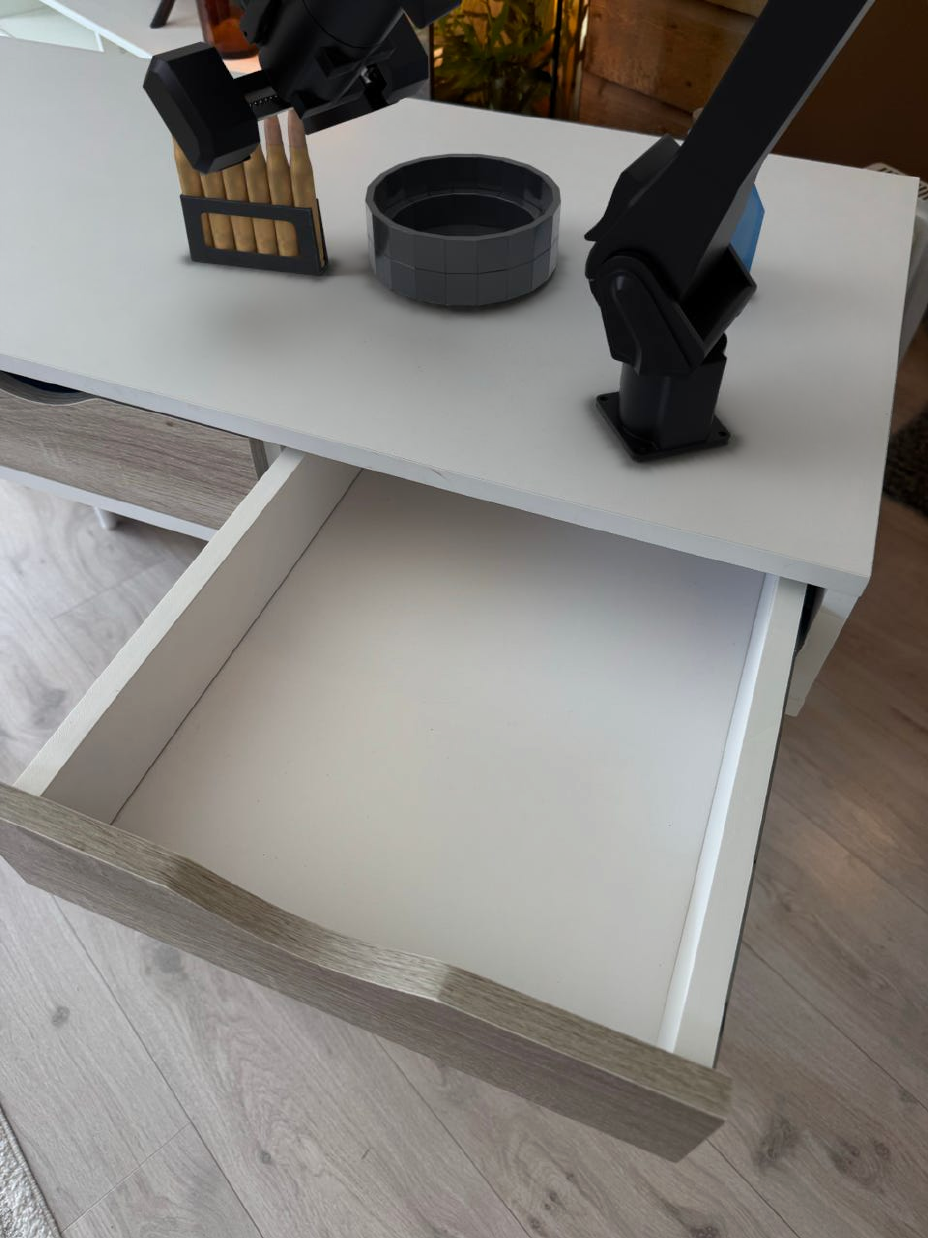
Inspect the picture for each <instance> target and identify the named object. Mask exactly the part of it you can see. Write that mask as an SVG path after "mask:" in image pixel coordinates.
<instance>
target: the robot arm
mask: <svg viewBox="0 0 928 1238" xmlns="http://www.w3.org/2000/svg"><path fill="white" fill-rule="evenodd" d="M875 1H876V0H767V1H766V3H765V5H764V7H762V8H763V9H762V10H761V12H760V13H759V15H758V17H757V18H756V20H755V21H754V23H753V25H752V26H751V28H750V29H749V32H748V33H747V35H746V37H745V38H744V39H743V42H742V43H741V45H740V47H739V49H738V50H737V52H736V53H735V55H734V57H733V59H732V60H731V61H730V63H729V65H728V67H727V69H726V70H725V72H724V74H723V75H722V77H721V79H720V80H719V82H718V84H717V85H716V87H715V89H714V90H713V92H712V93H711V95H710V97H709V99H708V100H707V102H706V103H705V105H704V106H703V108H704V109H703V110H702V112H701V114H700V115H699V117H698V119H697V120H696V122H695V124H694V125H693V124H692V127H691V128H690V129H691V130H690V129H689V130H690V132H689V134H688V133H687V135H686V137H685V139H684V140H683V142H682V144H681V145H680V144H679V143H678V142H677V141H676V140H675V138H673V137H672V135H671V134H670V133H668V132H667V133H665V134H663V135H662V136H661V137H660V138H659V139H658V140H657V141H655V143H653V144H652V145H651V146H649V148H648V149H646V150H645V151H644V152H643V153H641V155H639V156H638V157H637V158H636V159H635V160H634V161H632V163H630V164H629V165H628V166H627V167H626V168H625V169H624V170H622V171H621V172H620V174H619V176H618V178H617V180H616V182H615V184H614V186H613V189H612V191H611V194H610V197H609V200H608V203H607V206H606V209H605V211H604V212H603V215H602V217H601V218H600V220H599V221H597V222H596V223H595V224H594V225H593V226H592V227H591V228H590V229H588V230H587V231H586V232H585V233H584V235H583V239H584V240H585V241H586V242H594V244H593V245H592V246H591V248H590V250H589V252H588V254H587V257H586V261H585V264H584V278H585V279H586V280H587V281H588V285H589V289H590V293H591V295H592V297H593V298H594V300H595V302H596V304H597V305H598V308H599V309H600V313H601V318H602V322H603V326H604V327H603V328H604V331H605V336H606V341H607V345H608V350H609V353H610V357H611V359H612V360H614V361H616V362H619V363H622V366H621V372H620V379H619V390H617V391H612V392H608V393H607V392H606V393H602V394H599V395H597V396H596V399H595V405H596V407H597V409H598V410H599V411H600V413H601V416H603V418H604V419H605V421H606V422H607V423H608V425H609V426H610V428H611V429H612V431H613V433H614V435H616V438H617V439H618V440H619V442H620V443H621V445H622V446H623V448H624V449H625V450H626V452H627V453H628V455H629V457H630V458H631V459H632V460H634V461H637V462H643V461H648V460H653V459H658V458H663V457H669V456H673V455H678V454H682V453H688V452H693V451H697V450H702V449H703V450H704V449H708V448H712V447H717V446H724V445H726V444H728V443H729V442H730V440H731V433H730V431H729V430H728V429H727V427H726V426H725V425H724V423H722V421H721V420H720V419H719V418H718V416H717V415H716V413H715V411H716V408H717V404H718V399H719V395H720V392H721V387H722V384H723V383H722V382H723V379H724V374H725V369H726V367H727V362H728V357H727V356H726V355H725V354H726V350H727V346H728V336H727V335H726V331H727V330H728V328H729V327H730V326H731V324H733V322H734V321H735V319H736V318H738V317H739V316H740V315H741V313H742V311H744V309H745V307H746V306H747V305H748V304H749V302H750V300H751V299H752V297H753V296H754V295H755V294H756V292H757V289H758V284H757V283H756V281H755V280H754V278H753V277H752V275H751V272H750V273H749V272H748V270H747V269H746V267H745V265H744V264H743V262H742V261H741V259H740V257H739V256H738V254H737V253H736V251H735V249H734V248H733V246H732V245H731V243H730V240H731V238H732V236H733V234H734V232H735V230H736V228H737V226H738V224H739V221H740V219H741V217H742V215H743V213H744V211H745V208H746V205H747V203H748V200H749V197H750V194H751V191H752V188H753V185H754V184H755V182H756V179H757V176H758V174H759V171H760V169H761V168H762V166H763V164H764V161H765V160H766V159H767V158H768V156H769V155H770V154H771V152H772V151H773V149H774V147H775V146H776V144H777V143H778V141H779V140H780V138H781V137H782V136H783V134H784V133H785V131H786V130H787V129H788V127H789V125H790V124H791V123H792V121H793V120H794V119H795V117H796V115H797V114H798V112H799V111H800V110H801V108H802V107H803V105H804V104H805V102H806V101H807V100H808V98H809V96H810V95H811V94H812V92H813V91H814V89H815V88H816V86H817V85H818V83H819V82H820V81H821V79H822V78H823V77H824V75H825V74H826V72H827V71H828V69H829V68H830V66H831V65H832V63H833V62H834V60H835V59H836V57H838V54H839V53H840V52H841V50H842V49H843V47H844V46H845V44H846V43H847V41H848V40H849V39H850V38H851V36H852V35H853V33H854V32H855V30H856V29H857V28H858V26H859V25H860V23H861V22H862V21H863V18H864V17H865V16H866V14H867V13H868V11H869V10H870V8H871V7H872V5H873V4H874V3H875ZM231 2H232V3H234V5H235V6H236V7H237V8H238V9H239V10H240V11H242V12H243V14H242V16H241V19H240V21H239V23H238V25H237V27H238V29H239V31H240V32H241V34H242V36H243V38H244V39H245V41H246V43H247V44H248V45H249V46H253V45H255V46H256V47H257V49H258V50H259V51H258V53H257V59H258V63H259V67H260V69H259V70H256V71H253V72H250V73H247V74H244V75H240V76H237V77H233V75H232V73H231V72H230V70H229V68H228V67H227V65H226V63H225V61H224V60H223V58H222V57H221V55H220V53H219V51H218V49H217V48H216V46H215V45H212V44H209V43H207V42H204V41H198V42H195V43H191V44H188V45H185V46H181V47H178V48H177V47H176V48H174V49H171V50H167V51H164V52H161V53H158V54H153V55H152V56H151V59H150V61H149V63H148V66H147V69H146V72H145V74H144V78H143V83H142V88H143V90H144V92H145V94H146V95H147V97H148V98H149V100H150V102H151V103H152V105H153V107H154V108H155V110H156V111H157V113H158V115H159V116H160V118H161V120H162V121H163V123H164V124H165V126H166V127H167V129H168V131H169V133H170V135H171V137H172V136H173V137H174V139H175V140H176V142H177V144H178V145H179V147H180V149H181V150H182V152H183V153H184V155H185V157H186V158H187V160H188V162H189V163H190V165H191V166H192V168H193V169H195V170H197V171H199V173H200V174H201V175H202V176H204V175H207V174H210V173H213V172H220V171H222V170H225V169H228V168H230V167H233V166H235V165H238V164H241V163H243V162H246V161H248V160H250V159H251V156H250V154H251V153H253V152H254V151H255V150H256V148H257V147H258V145H259V143H260V142H262V140H261V133H260V127H259V122H262V121H264V119H267V118H269V117H272V116H275V115H277V116H278V115H280V114H283V113H286V112H288V111H289V110H291V109H294V110H295V112H296V114H297V115H298V117H299V119H300V120H301V119H302V121H303V126H304V130H305V136H310V135H313V134H315V133H316V134H317V133H318V132H322V131H325V130H327V129H331V128H332V127H336V126H338V125H341V124H344V123H347V122H349V121H352V120H356V119H358V118H361V117H364V116H366V115H370V114H373V113H375V112H377V111H380V110H383V109H386V108H388V107H391V106H393V105H396V104H398V103H399V102H400V101H401V100H404V99H406V98H409V97H412V96H414V95H417V93H418V92H419V91H420V89H421V88H422V87H423V86H424V85H425V84H426V82H427V81H428V80H429V79H430V71H429V70H430V67H429V65H430V63H429V62H430V61H429V55H428V53H427V52H426V49H425V48H424V46H423V44H422V41H421V40H420V39H419V37H418V35H417V32H416V31H415V29H414V28H413V26H414V27H415V28H416V29H417V30H424V29H425V28H427V27H428V26H430V25H432V24H433V23H435V22H438V21H439V20H441V19H442V18H443V17H445V16H447V15H448V14H450V13H452V12H453V11H455V10H457V9H458V8H460V7H461V6H462V4H463V0H231ZM411 23H412V24H411ZM412 25H413V26H412Z"/></svg>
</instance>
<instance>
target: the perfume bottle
mask: <svg viewBox="0 0 928 1238" xmlns="http://www.w3.org/2000/svg"><path fill="white" fill-rule="evenodd" d="M703 109H704V107H700V108H697V109H695V111H693V113H692V126H693V125H694V124H695V122H696V120H697V119H698V117H699V115H700V114H701V112H702V110H703ZM691 129H692V128H690V129H689V130H688V131H687V135H688V134H689V132H690V130H691ZM765 212H766V210H765V208H764V205H763V202H762V199H761V197H760V194H759V192H758V189H757V187H756V184H755V183H754V185H753V188H752V191H751V194H750V197H749V200H748V203H747V205H746V208H745V211H744V213H743V215H742V217H741V219H740V221H739V224H738V226H737V228H736V230H735V232H734V234H733V236H732V238H731V240H730V243H731V245H732V246H733V248H734V249H735V251H736V253H737V254H738V256H739V257H740V259H741V261H742V262H743V264H744V265H745V267H746V269H747V270H748V272H749V273H750V274H751V271H752V267H753V263H754V258H755V255H756V250H757V245H758V242H759V237H760V234H761V229H762V225H763V221H764V216H765Z"/></svg>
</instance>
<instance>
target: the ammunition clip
mask: <svg viewBox="0 0 928 1238" xmlns="http://www.w3.org/2000/svg"><path fill="white" fill-rule="evenodd" d="M263 133H264V141H265V152H266V153H265V154H266V156H265V155H264V153H263V147H262V143H261V142H262V141H261V142H260V143H259V145H258V147H257V148H256V150H255V151H254V152H253V153H251V154H250V156H251V159H250V160H248V161H246V162H243V163H241V164H238V165H235V166H233V167H230V168H228V169H225V170H222V171H220V172H213V173H210V174H207V175H204V176H202V175H201V174H200V173H199V171H197V170H195V169H193V168H192V166H191V165H190V163H189V162H188V160H187V158H186V157H185V155H184V153H183V152H182V150H181V149H180V147H179V145H178V144H177V142H176V140H175V139H174V137H173V136H172V135H171V137H172V143H173V158H174V163H175V168H176V172H177V177H178V181H179V185H180V190H181V193H180V195H179V200H180V205H181V211H182V216H183V222H184V227H185V232H186V238H187V239H186V240H187V244H188V249H189V255H190V259H191V261H192V262H198V263H199V262H200V263H208V264H217V265H224V266H233V267H241V268H250V269H258V270H268V271H275V272H284V273H291V274H292V273H293V274H304V275H312V276H318V277H319V276H320V275H322V274H323V273H324V271H325V269H326V268H327V266H328V265H329V263H330V262H329V256H328V250H327V245H326V238H325V237H326V236H325V231H324V225H323V220H322V214H321V208H320V207H321V206H320V200H319V198H318V197H317V193H316V185H315V178H314V177H315V176H314V170H313V164H312V161H311V158H310V154H309V148H308V143H307V138H306V137H307V135H306V134H305V130H304V126H303V121H302V119H301V120H300V119H299V117H298V115H297V114H296V112H295V110H294V109H291V110H289V111H287V137H288V144H289V145H288V150H289V159H288V157H287V154H286V148H285V144H284V139H283V134H282V128H281V124H280V120H279V117H278V115H275V116H272V117H269V118H267V119H264V120H263ZM265 157H266V158H265Z"/></svg>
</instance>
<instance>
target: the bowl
mask: <svg viewBox="0 0 928 1238" xmlns="http://www.w3.org/2000/svg"><path fill="white" fill-rule="evenodd" d="M561 196H562V195H561V189H560V187H559V186H558V185H557V183H556V182H555V181H554V180H553V179H552V177H551V176H550V175H548V174H547V173H545V172H544V171H541V170H540V169H538V168H537V167H535V166H533V165H530V164H528V163H525V162H521V161H518V160H515V159H512V158H509V157H504V156H496V155H491V154H484V153H445V154H436V155H429V156H422V157H418V158H414V159H411V160H410V159H409V160H407V161H404V162H400V163H398V164H396V165H394V166H391V167H390V168H388V169H386V170H384V171H382V172H381V173H380V172H379V174H378V175H376V177H375V178H374V179H373V180H372V181H371V182H370V183H369V184H368V186H367V188H366V193H365V198H364V206H365V218H366V231H367V232H366V233H367V244H368V255H369V264H370V266H371V269H372V271H373V272H374V275H375V277H376V278H377V279H378V280H379V281H380V282H382V283H383V284H384V285H385V286H387V287H388V288H389V289H391V290H392V291H393V292H395V293H398V294H400V295H403V296H405V297H408V298H410V299H412V300H415V301H419V302H425V303H430V304H436V305H442V306H451V307H452V306H454V307H474V306H484V305H490V304H496V303H501V302H502V303H503V302H507V301H510V300H512V299H515V298H519V297H520V296H523V295H527V294H529V293H531V292H533V291H534V290H536V289H537V288H538V287H540V286H541V285H543V284H544V283H545V282H547V281H548V280H549V279H550V277H551V275H552V273H553V271H554V270H555V268H556V266H557V259H558V248H559V247H558V246H559V234H560V221H561V208H562V197H561Z"/></svg>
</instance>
